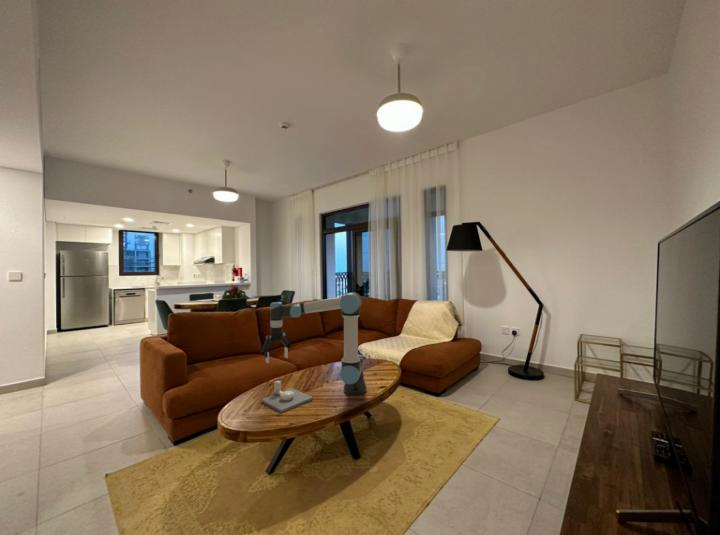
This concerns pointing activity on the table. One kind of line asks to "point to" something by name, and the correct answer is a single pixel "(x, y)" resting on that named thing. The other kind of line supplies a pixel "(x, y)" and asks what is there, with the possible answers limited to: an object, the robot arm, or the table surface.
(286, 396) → the locking lever
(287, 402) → the lock base
